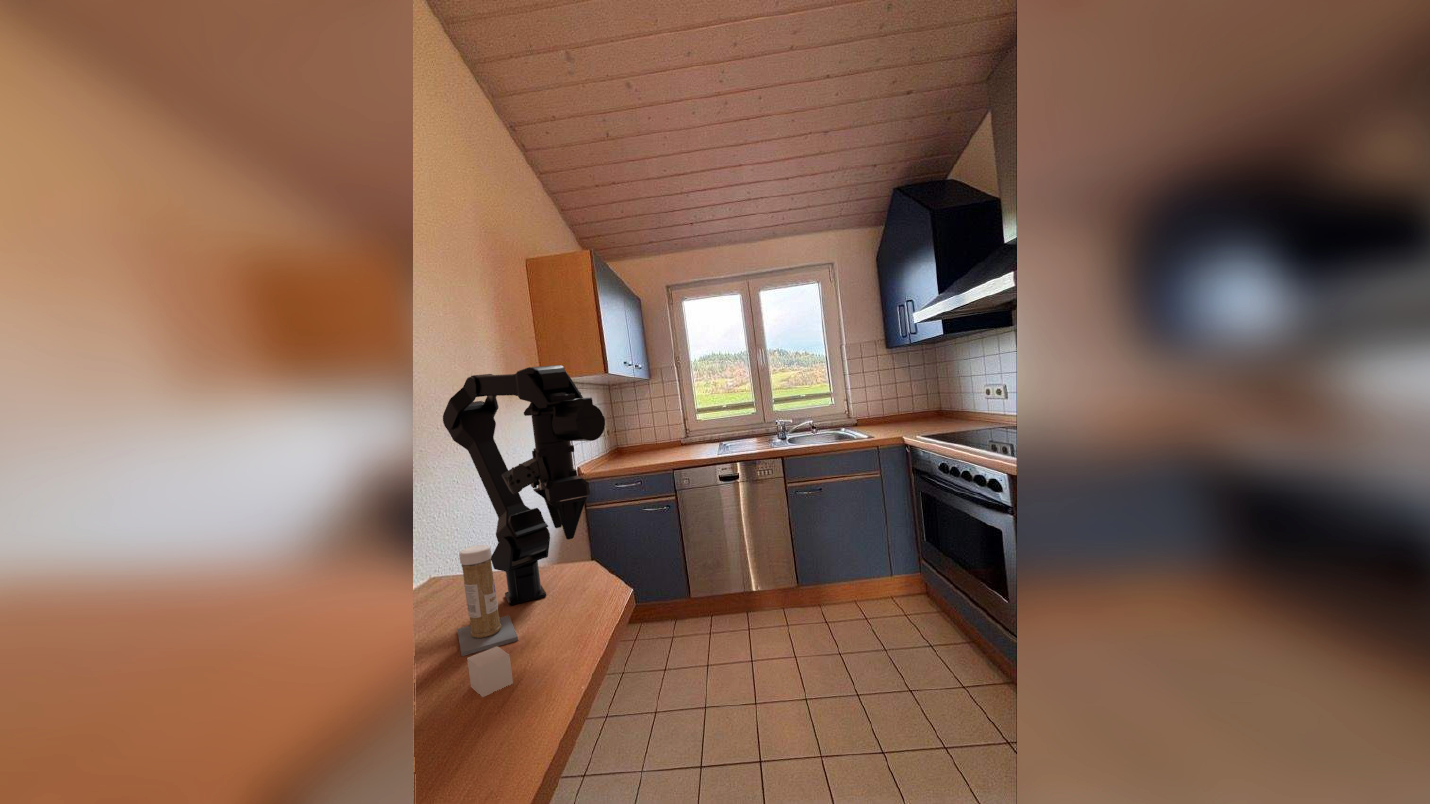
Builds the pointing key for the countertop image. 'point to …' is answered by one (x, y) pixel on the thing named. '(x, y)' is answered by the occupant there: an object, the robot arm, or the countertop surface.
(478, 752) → the countertop surface
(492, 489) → the robot arm
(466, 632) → the grey mat
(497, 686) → the light grey block
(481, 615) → the sprinkles bottle
